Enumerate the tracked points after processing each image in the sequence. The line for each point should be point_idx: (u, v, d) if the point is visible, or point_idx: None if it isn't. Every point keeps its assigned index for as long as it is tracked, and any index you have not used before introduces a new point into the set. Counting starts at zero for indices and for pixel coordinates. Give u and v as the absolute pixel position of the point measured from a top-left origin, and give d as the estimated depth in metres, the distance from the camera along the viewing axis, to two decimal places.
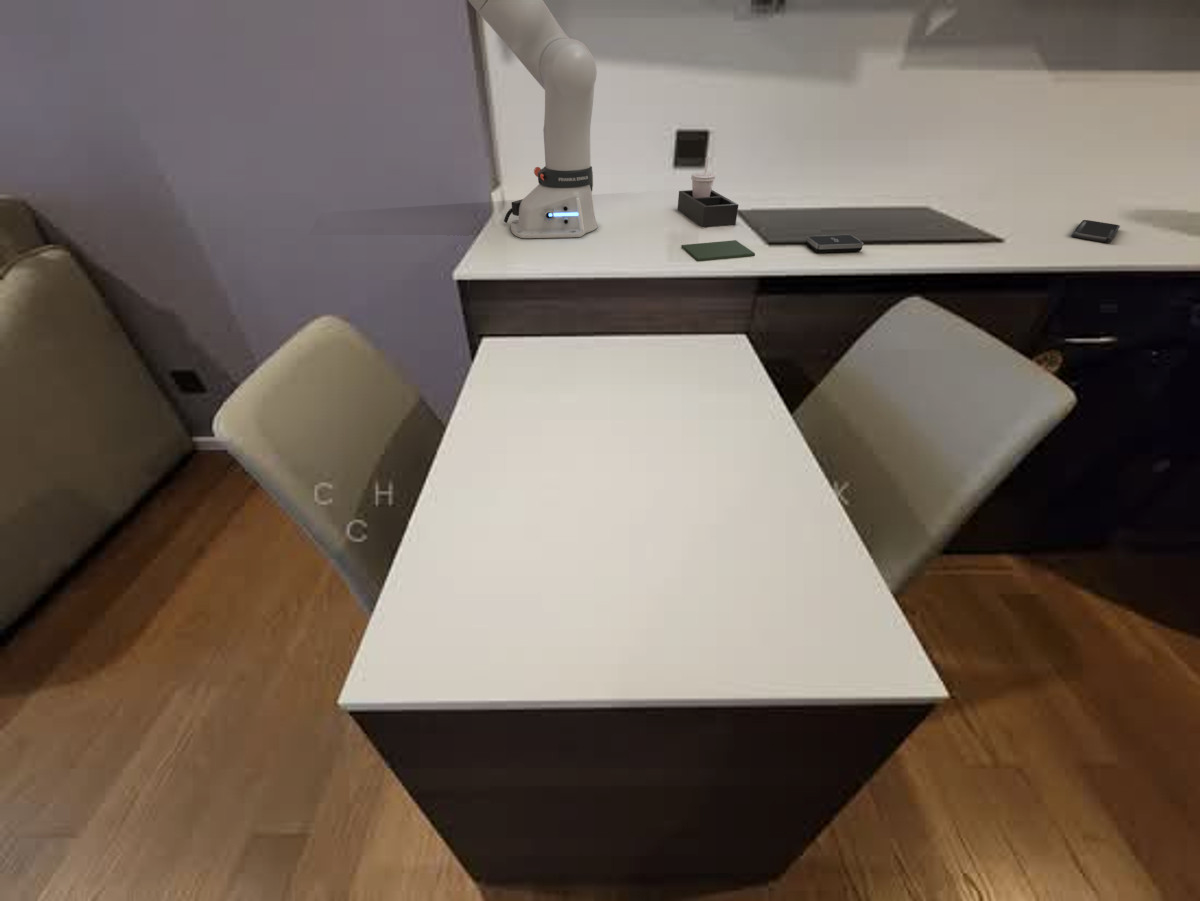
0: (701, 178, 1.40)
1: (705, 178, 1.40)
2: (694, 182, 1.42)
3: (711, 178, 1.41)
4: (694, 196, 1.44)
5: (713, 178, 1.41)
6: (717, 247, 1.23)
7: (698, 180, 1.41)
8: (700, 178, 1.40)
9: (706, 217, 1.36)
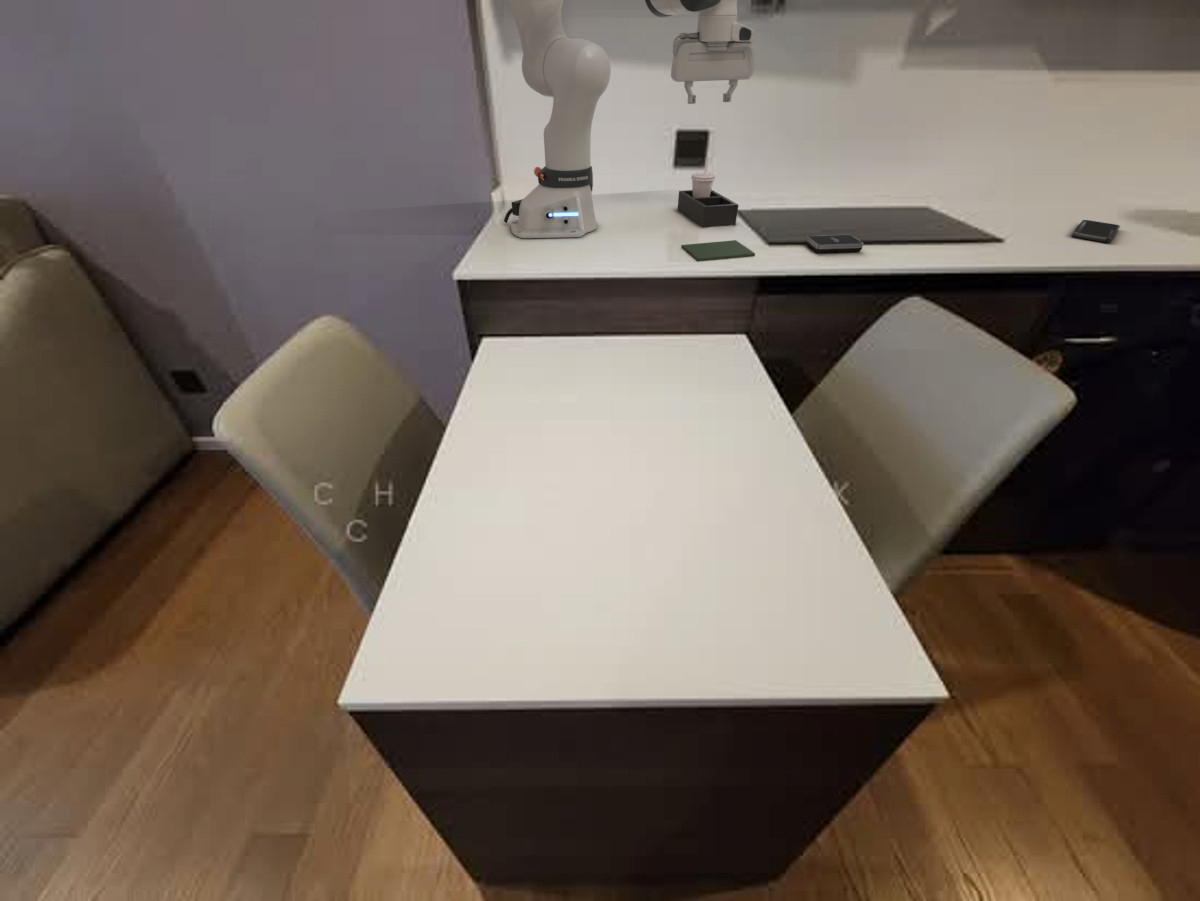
0: (701, 178, 1.40)
1: (705, 178, 1.40)
2: (694, 182, 1.42)
3: (711, 178, 1.41)
4: (694, 196, 1.44)
5: (713, 178, 1.41)
6: (717, 247, 1.23)
7: (698, 180, 1.41)
8: (700, 178, 1.40)
9: (706, 217, 1.36)
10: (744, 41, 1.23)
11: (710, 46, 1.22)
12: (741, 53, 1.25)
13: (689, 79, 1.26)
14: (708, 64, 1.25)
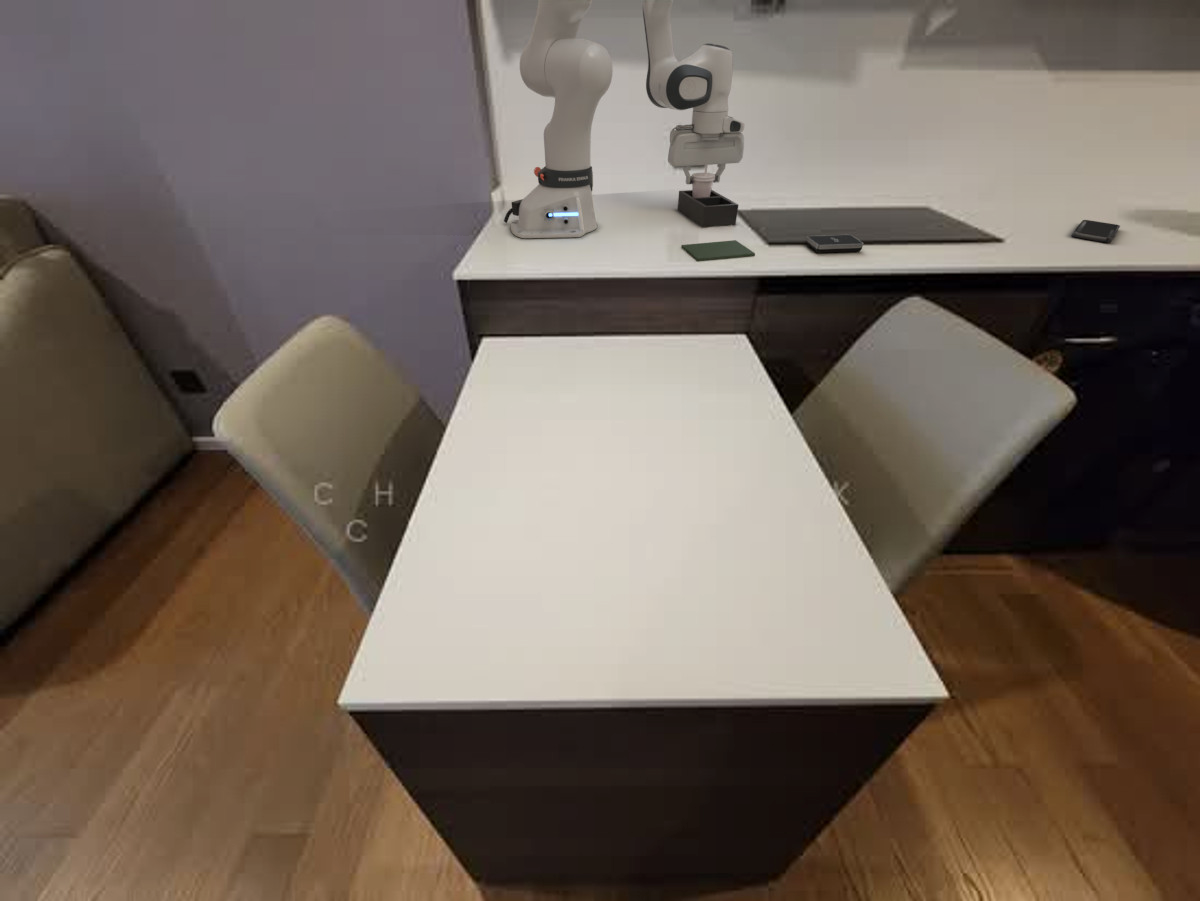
0: (701, 178, 1.40)
1: (705, 178, 1.40)
2: (694, 182, 1.42)
3: (711, 178, 1.41)
4: (694, 196, 1.44)
5: (713, 178, 1.41)
6: (717, 247, 1.23)
7: (698, 180, 1.41)
8: (700, 178, 1.40)
9: (706, 217, 1.36)
10: (734, 132, 1.35)
11: (703, 137, 1.34)
12: (732, 141, 1.37)
13: (684, 164, 1.38)
14: (701, 151, 1.37)
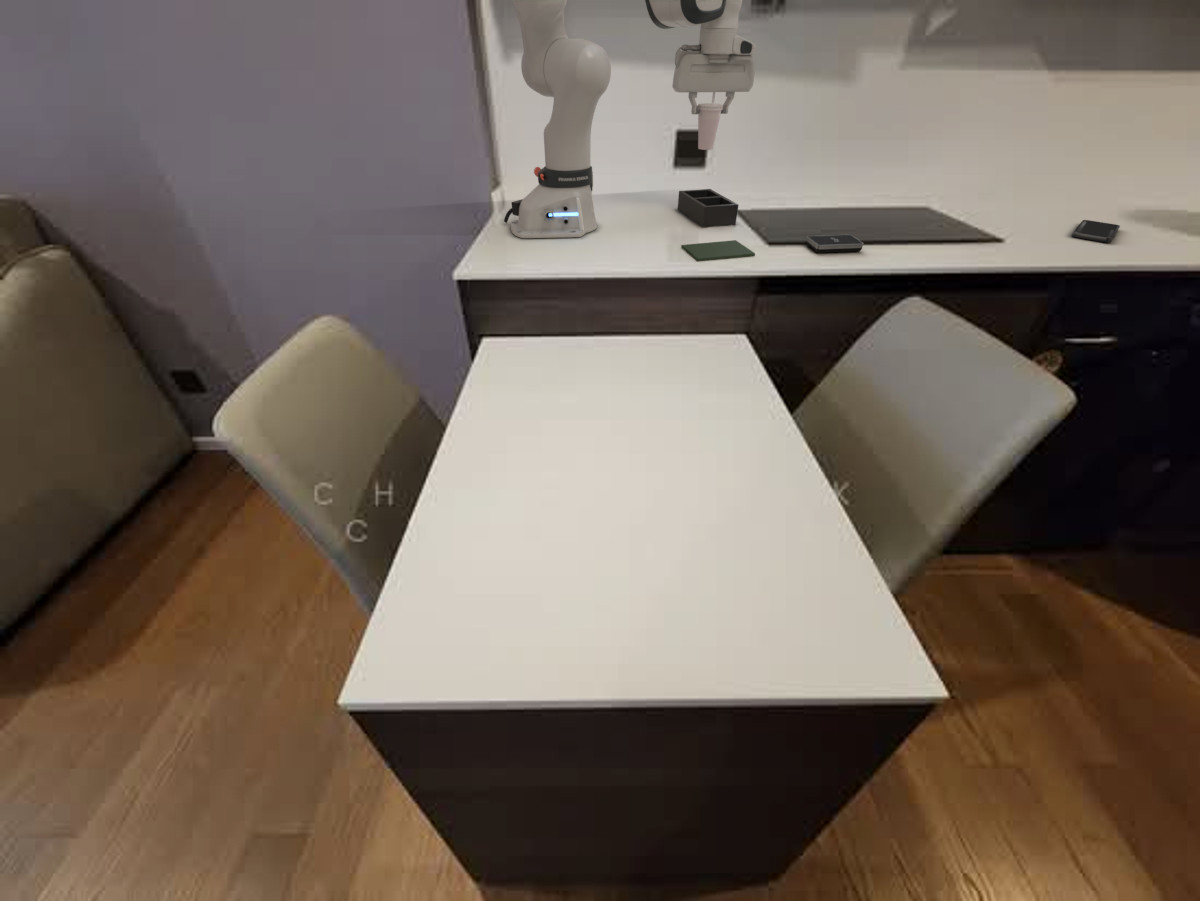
0: (708, 107, 1.30)
1: (712, 107, 1.30)
2: (700, 112, 1.32)
3: (719, 107, 1.30)
4: (700, 128, 1.34)
5: (721, 108, 1.31)
6: (717, 247, 1.23)
7: (705, 109, 1.30)
8: (707, 107, 1.30)
9: (706, 217, 1.36)
10: (745, 54, 1.25)
11: (711, 58, 1.24)
12: (742, 66, 1.27)
13: (690, 90, 1.27)
14: (709, 76, 1.26)
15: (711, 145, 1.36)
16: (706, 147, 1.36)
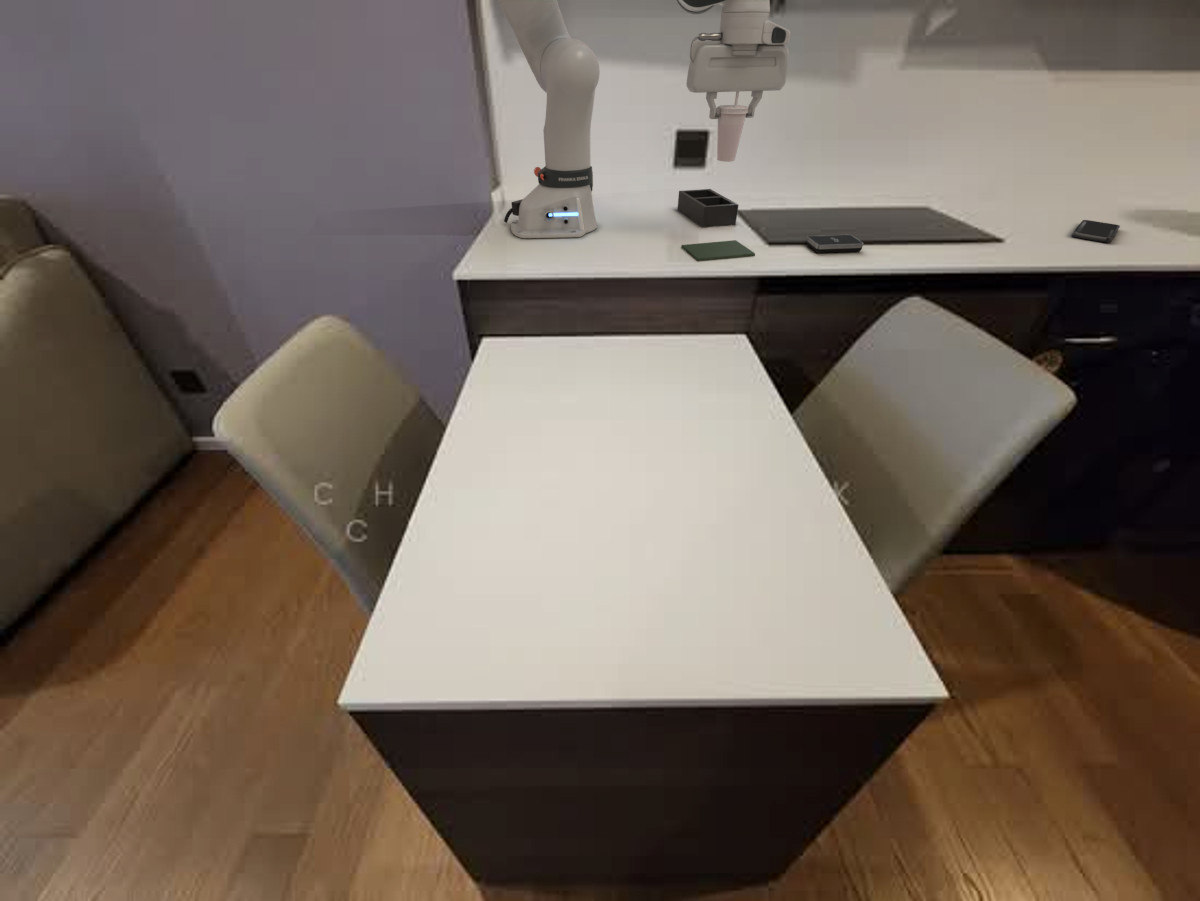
0: (730, 110, 1.05)
1: (736, 110, 1.05)
2: (721, 116, 1.07)
3: (744, 110, 1.06)
4: (720, 136, 1.10)
5: (746, 110, 1.06)
6: (717, 247, 1.23)
7: (726, 113, 1.06)
8: (729, 110, 1.06)
9: (706, 217, 1.36)
10: (777, 44, 1.00)
11: (736, 50, 1.00)
12: (772, 59, 1.03)
13: (708, 90, 1.03)
14: (732, 72, 1.02)
15: (733, 156, 1.12)
16: (727, 158, 1.12)
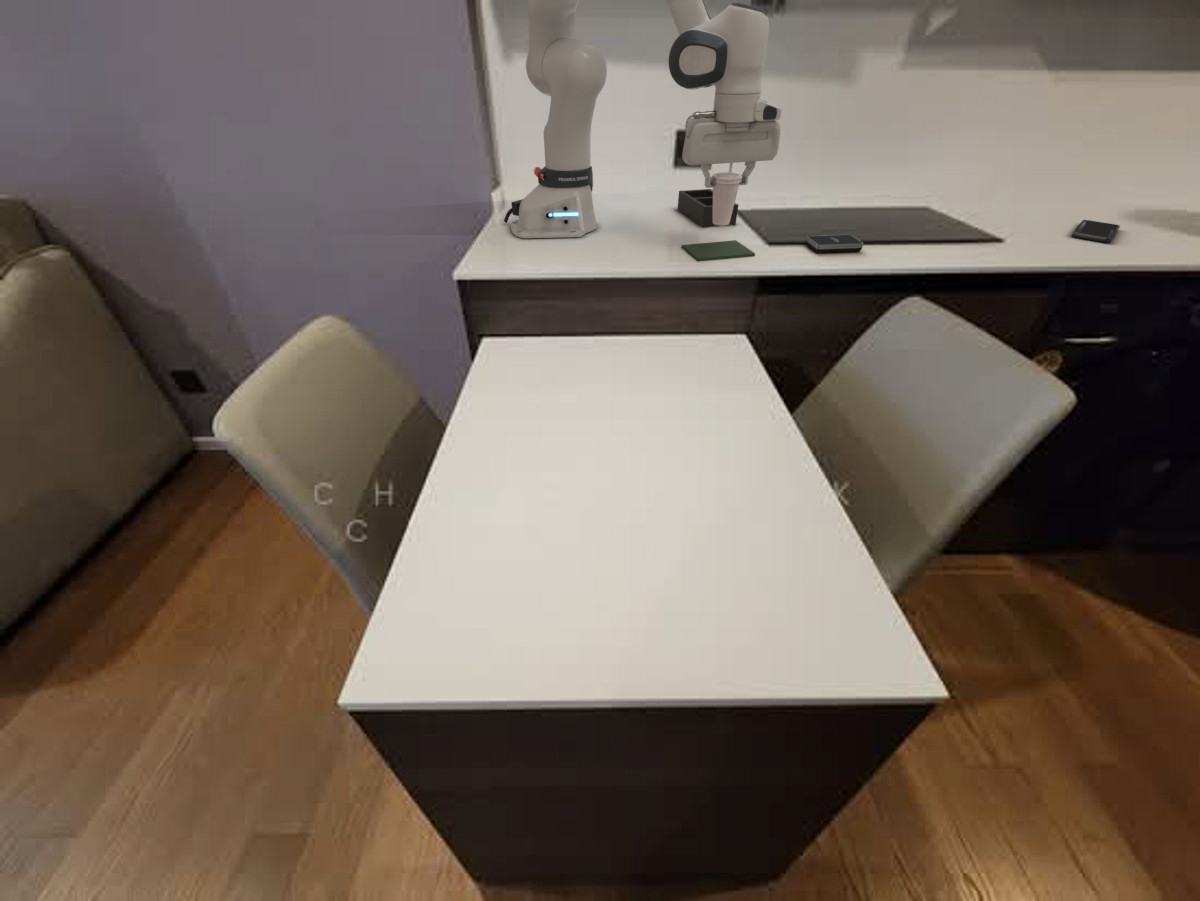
0: (725, 180, 1.10)
1: (730, 180, 1.10)
2: (715, 185, 1.12)
3: (737, 180, 1.11)
4: (715, 202, 1.14)
5: (740, 180, 1.11)
6: (717, 247, 1.23)
7: (721, 182, 1.11)
8: (723, 180, 1.10)
9: (706, 217, 1.36)
10: (768, 120, 1.05)
11: (729, 127, 1.04)
12: (764, 133, 1.07)
13: (703, 163, 1.08)
14: (726, 146, 1.07)
15: (728, 220, 1.17)
16: (722, 223, 1.16)
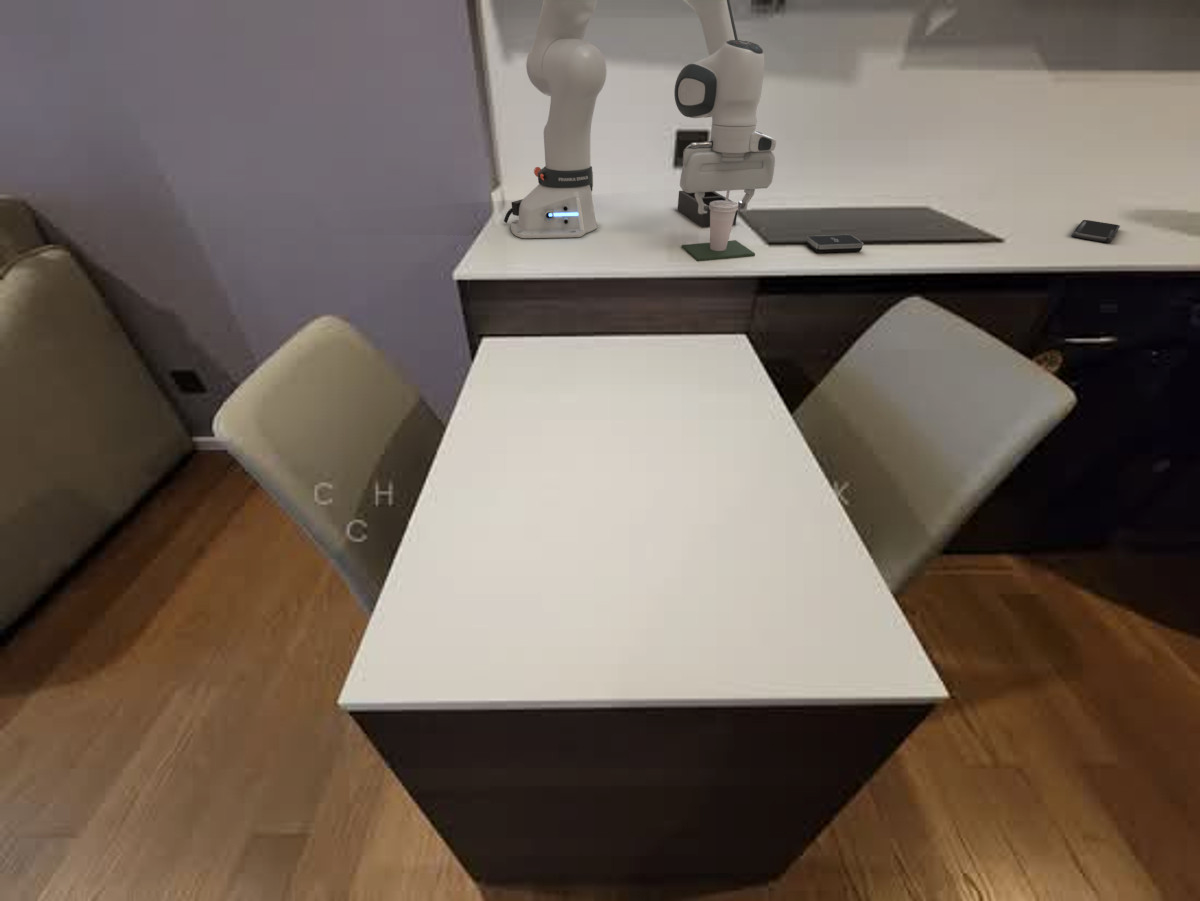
0: (722, 208, 1.14)
1: (727, 208, 1.14)
2: (713, 213, 1.16)
3: (734, 208, 1.14)
4: (712, 229, 1.18)
5: (736, 208, 1.15)
6: None
7: (718, 210, 1.15)
8: (720, 208, 1.14)
9: (706, 217, 1.36)
10: (763, 151, 1.08)
11: (725, 157, 1.08)
12: (759, 162, 1.11)
13: (700, 190, 1.11)
14: (722, 175, 1.10)
15: (725, 246, 1.20)
16: (719, 248, 1.20)
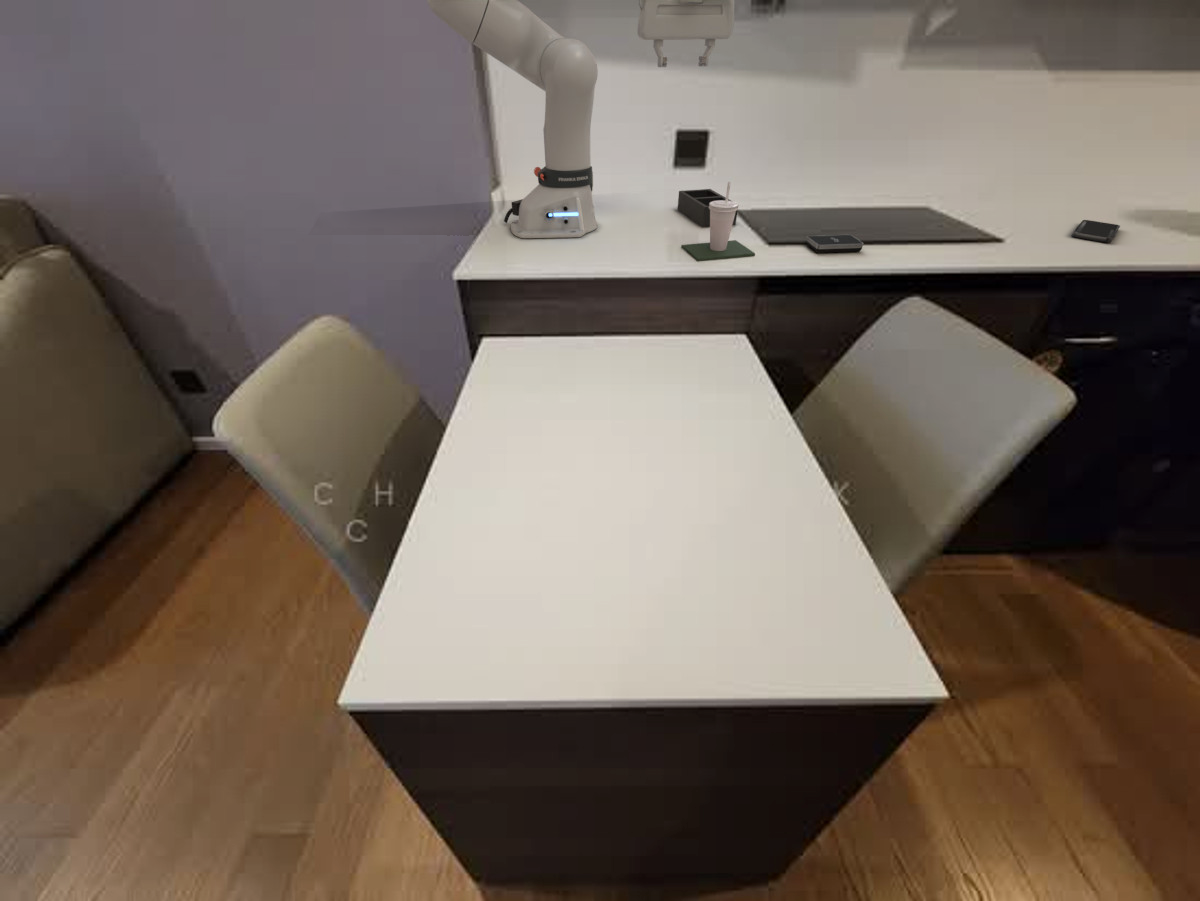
0: (722, 208, 1.14)
1: (726, 208, 1.14)
2: (713, 213, 1.16)
3: (734, 208, 1.14)
4: (712, 229, 1.18)
5: (736, 208, 1.15)
6: None
7: (718, 210, 1.15)
8: (720, 208, 1.14)
9: (706, 217, 1.36)
10: None
11: None
12: (719, 7, 1.08)
13: (658, 37, 1.08)
14: (680, 19, 1.07)
15: (725, 246, 1.20)
16: (719, 248, 1.20)
